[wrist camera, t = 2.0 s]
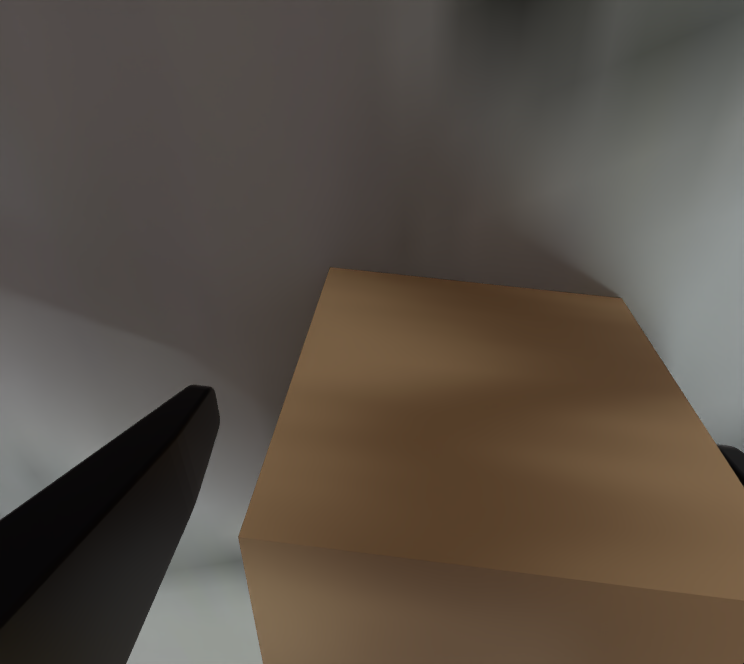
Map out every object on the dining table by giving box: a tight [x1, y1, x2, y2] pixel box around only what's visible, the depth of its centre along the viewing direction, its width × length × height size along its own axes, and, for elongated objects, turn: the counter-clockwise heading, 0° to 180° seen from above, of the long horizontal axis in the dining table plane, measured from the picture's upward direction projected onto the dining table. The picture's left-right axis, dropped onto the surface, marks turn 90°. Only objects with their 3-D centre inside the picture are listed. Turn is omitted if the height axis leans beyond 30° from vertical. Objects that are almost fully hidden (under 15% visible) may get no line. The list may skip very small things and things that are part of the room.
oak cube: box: [238, 267, 744, 664], centre depth 7 cm, size 5×5×5 cm
